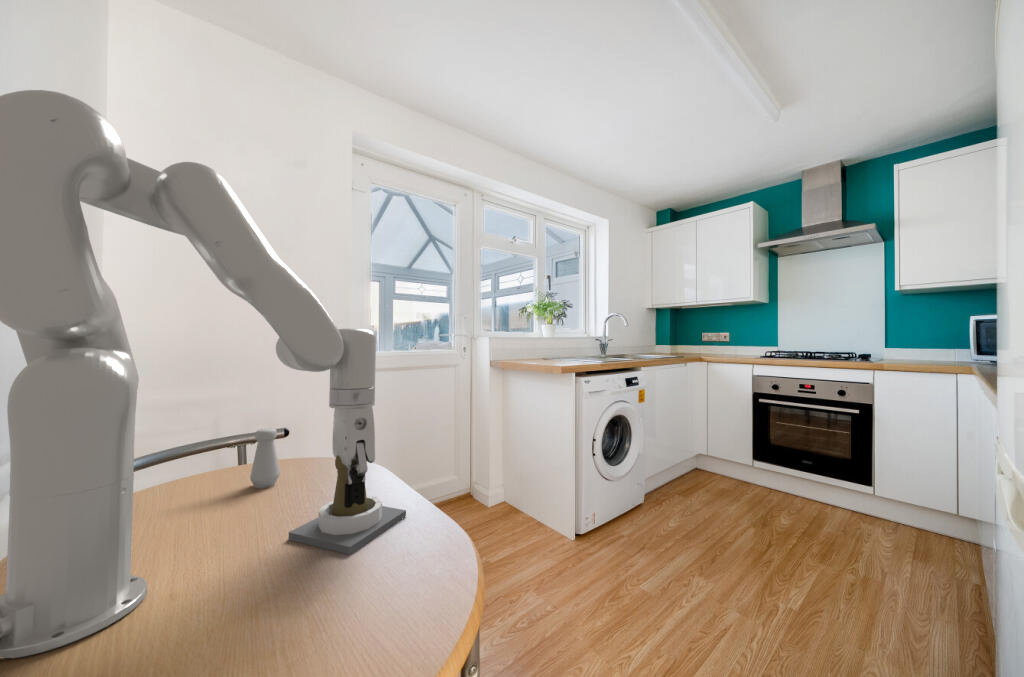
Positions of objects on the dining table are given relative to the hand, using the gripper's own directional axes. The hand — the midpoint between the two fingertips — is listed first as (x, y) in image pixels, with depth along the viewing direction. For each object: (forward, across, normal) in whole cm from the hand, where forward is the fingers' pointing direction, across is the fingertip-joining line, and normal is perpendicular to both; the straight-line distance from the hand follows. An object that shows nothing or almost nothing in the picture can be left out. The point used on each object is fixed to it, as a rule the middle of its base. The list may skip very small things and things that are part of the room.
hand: (350, 500), depth 66 cm
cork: (+2, 0, 0) cm, 2 cm away
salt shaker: (+5, +34, +9) cm, 35 cm away
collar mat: (+5, 0, 0) cm, 5 cm away
